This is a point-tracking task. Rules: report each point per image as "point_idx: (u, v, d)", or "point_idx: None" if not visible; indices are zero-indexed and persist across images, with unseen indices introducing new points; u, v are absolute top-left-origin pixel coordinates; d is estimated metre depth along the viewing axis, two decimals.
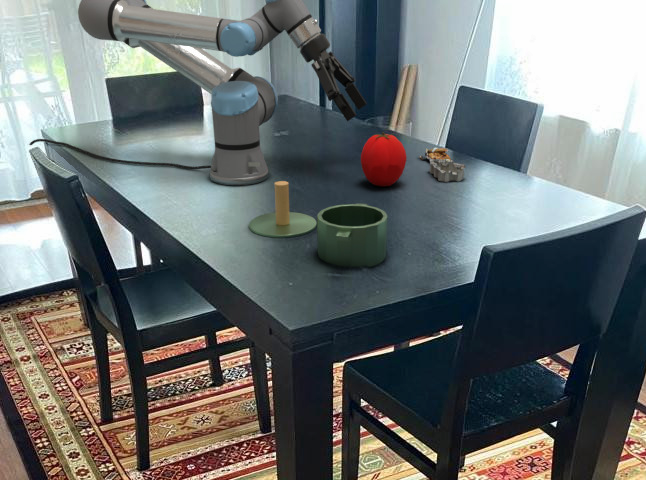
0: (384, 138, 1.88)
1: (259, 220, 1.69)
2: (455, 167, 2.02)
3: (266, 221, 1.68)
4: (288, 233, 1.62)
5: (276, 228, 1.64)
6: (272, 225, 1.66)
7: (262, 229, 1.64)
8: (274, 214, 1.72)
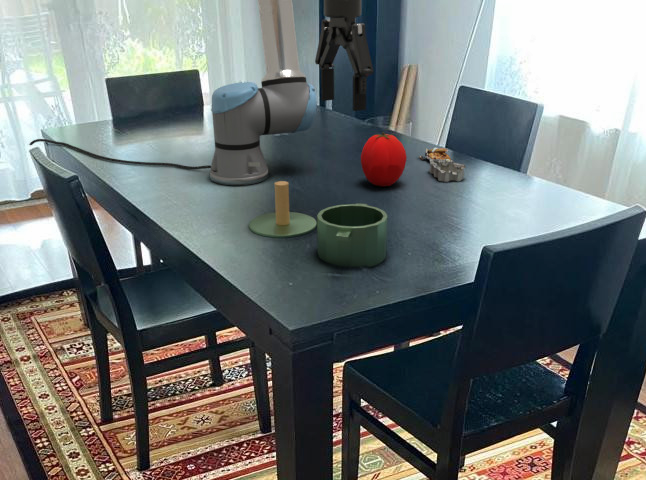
0: (384, 138, 1.88)
1: (259, 220, 1.69)
2: (455, 167, 2.02)
3: (266, 221, 1.68)
4: (288, 233, 1.62)
5: (276, 228, 1.64)
6: (272, 225, 1.66)
7: (262, 229, 1.64)
8: (274, 214, 1.72)
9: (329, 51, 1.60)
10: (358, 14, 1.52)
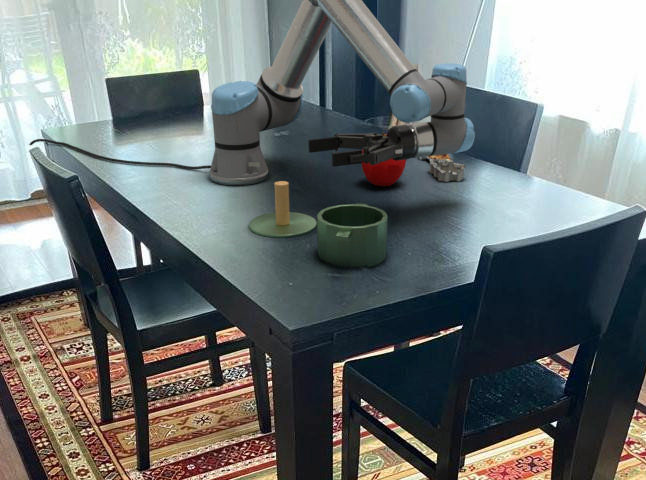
0: None
1: (259, 220, 1.69)
2: (455, 167, 2.02)
3: (266, 221, 1.68)
4: (288, 233, 1.62)
5: (276, 228, 1.64)
6: (272, 225, 1.66)
7: (262, 229, 1.64)
8: (274, 214, 1.72)
9: None
10: None
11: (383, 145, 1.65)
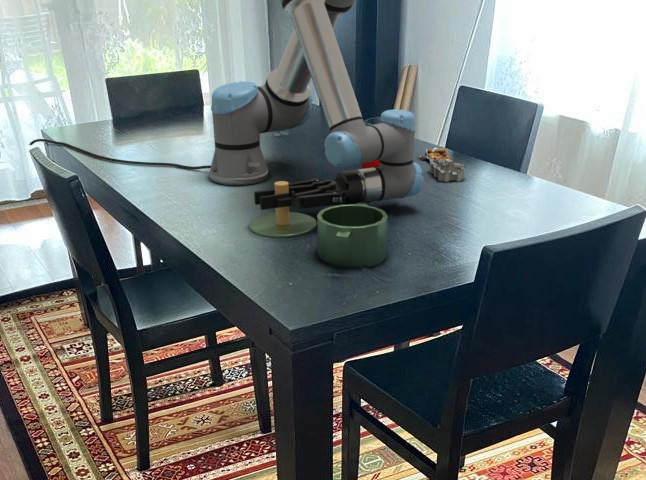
0: None
1: (259, 220, 1.69)
2: (455, 167, 2.02)
3: (266, 221, 1.68)
4: (288, 233, 1.62)
5: (276, 228, 1.64)
6: (272, 225, 1.66)
7: (262, 229, 1.64)
8: (274, 214, 1.72)
9: None
10: None
11: (331, 192, 1.65)
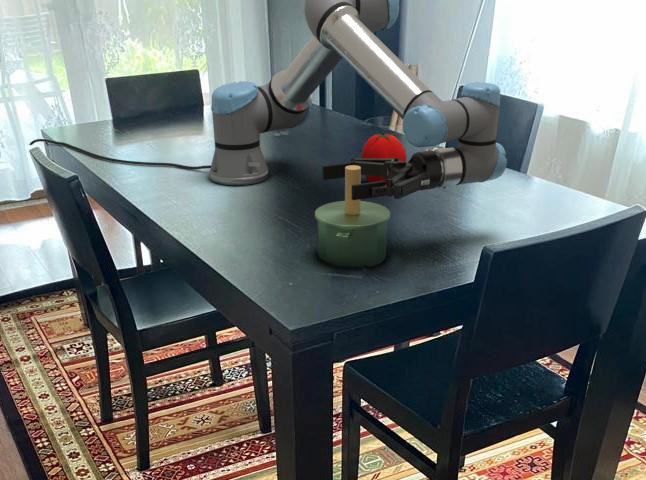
0: (384, 138, 1.88)
1: (325, 209, 1.51)
2: None
3: (333, 211, 1.50)
4: (361, 223, 1.44)
5: (346, 217, 1.47)
6: (341, 215, 1.48)
7: (331, 219, 1.46)
8: (340, 203, 1.54)
9: None
10: None
11: (407, 174, 1.47)
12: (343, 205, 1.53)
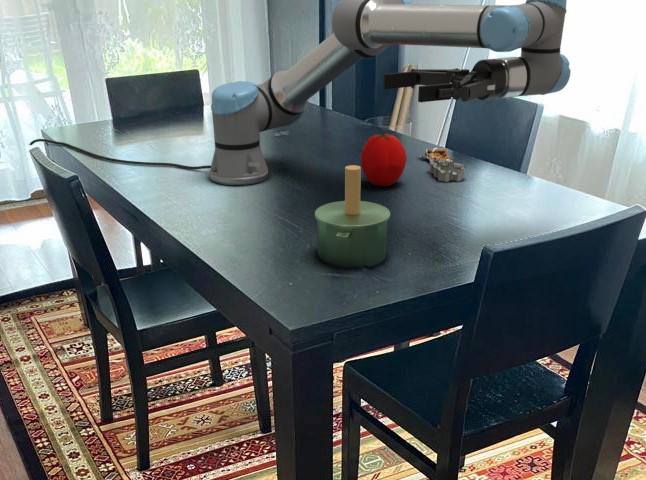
0: (384, 138, 1.88)
1: (325, 209, 1.51)
2: (455, 167, 2.02)
3: (333, 211, 1.50)
4: (361, 223, 1.44)
5: (346, 217, 1.47)
6: (341, 215, 1.48)
7: (331, 219, 1.46)
8: (340, 203, 1.54)
9: None
10: None
11: (472, 80, 1.44)
12: (343, 205, 1.53)
